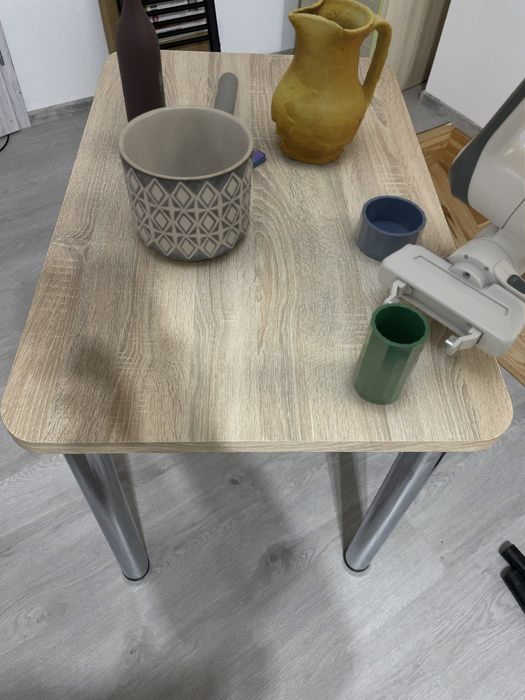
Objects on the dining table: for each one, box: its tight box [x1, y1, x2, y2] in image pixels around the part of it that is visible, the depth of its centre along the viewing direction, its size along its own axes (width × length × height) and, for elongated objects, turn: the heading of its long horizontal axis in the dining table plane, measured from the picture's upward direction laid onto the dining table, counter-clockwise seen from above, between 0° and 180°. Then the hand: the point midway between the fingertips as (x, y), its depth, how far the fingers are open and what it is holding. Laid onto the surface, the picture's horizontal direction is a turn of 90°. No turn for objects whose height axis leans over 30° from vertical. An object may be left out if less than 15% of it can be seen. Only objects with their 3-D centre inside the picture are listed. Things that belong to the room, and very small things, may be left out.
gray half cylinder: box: [213, 71, 239, 116], centre depth 115 cm, size 4×20×2 cm, turn 178°
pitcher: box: [270, 0, 393, 165], centre depth 97 cm, size 17×19×25 cm
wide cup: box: [355, 194, 428, 262], centre depth 88 cm, size 10×10×6 cm
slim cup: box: [352, 302, 431, 405], centre depth 67 cm, size 7×7×12 cm
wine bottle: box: [114, 0, 167, 124], centre depth 91 cm, size 7×7×30 cm
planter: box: [117, 104, 255, 262], centre depth 83 cm, size 19×19×16 cm
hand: (415, 328), depth 69 cm, fingers open, 8 cm apart
